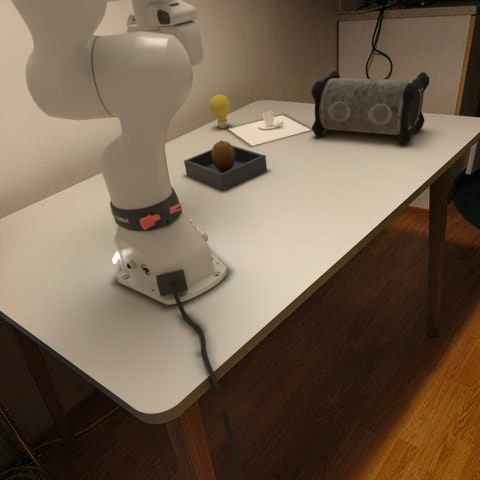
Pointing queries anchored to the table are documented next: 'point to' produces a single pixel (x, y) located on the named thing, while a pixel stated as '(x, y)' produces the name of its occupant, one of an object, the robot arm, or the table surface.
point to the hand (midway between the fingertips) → (171, 87)
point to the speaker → (369, 105)
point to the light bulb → (220, 109)
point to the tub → (241, 171)
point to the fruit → (223, 155)
